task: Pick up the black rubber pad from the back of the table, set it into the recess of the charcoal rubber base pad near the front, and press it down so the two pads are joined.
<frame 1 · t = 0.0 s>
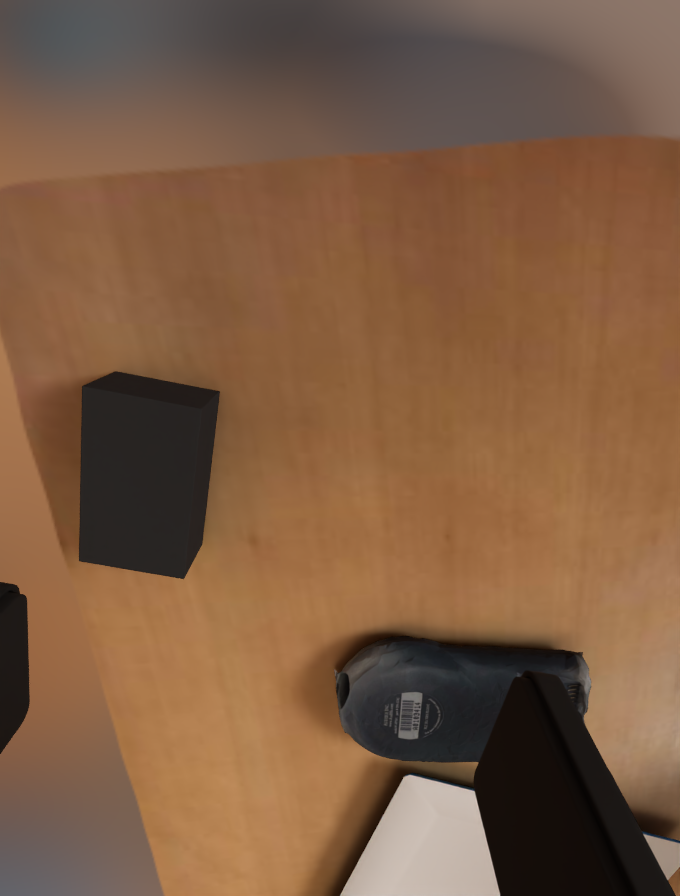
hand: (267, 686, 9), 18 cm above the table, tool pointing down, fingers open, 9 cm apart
pad: (161, 463, 27), on the table
electronic device: (449, 680, 33), on the table
plate: (481, 875, 40), on the table
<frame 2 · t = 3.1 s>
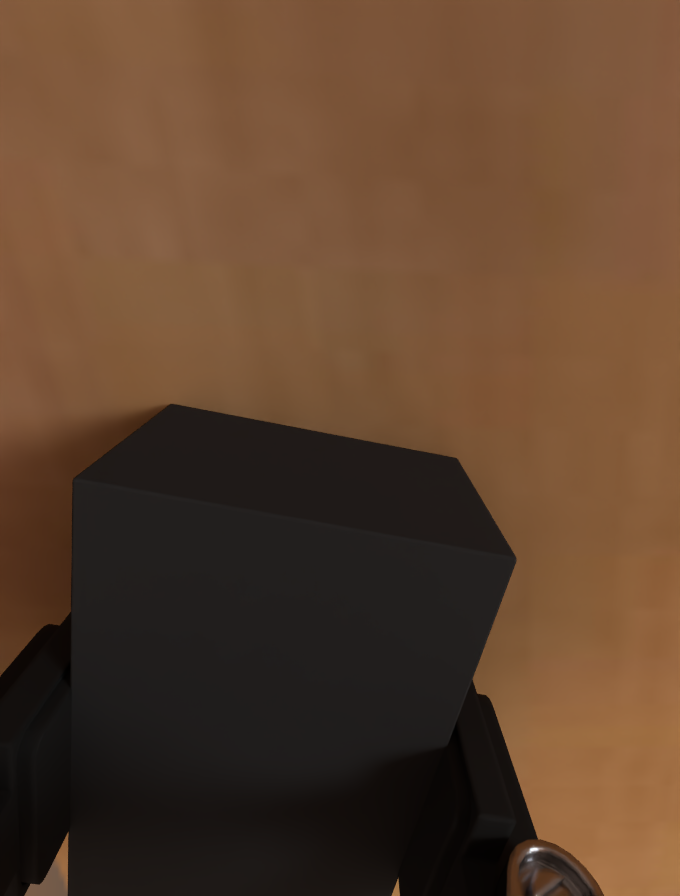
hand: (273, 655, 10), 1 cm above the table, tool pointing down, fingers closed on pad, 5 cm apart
pad: (278, 631, 11), on the table, touching gripper
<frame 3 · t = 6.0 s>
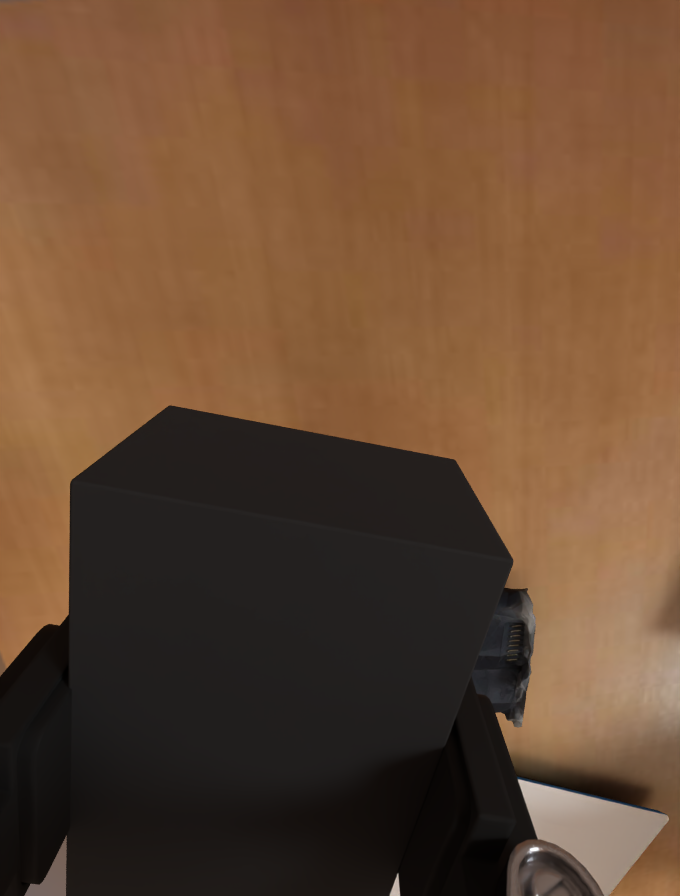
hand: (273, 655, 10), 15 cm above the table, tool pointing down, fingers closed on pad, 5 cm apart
pad: (276, 632, 11), point 15 cm above the table, touching gripper
electronic device: (384, 629, 29), on the table
plate: (438, 854, 36), on the table
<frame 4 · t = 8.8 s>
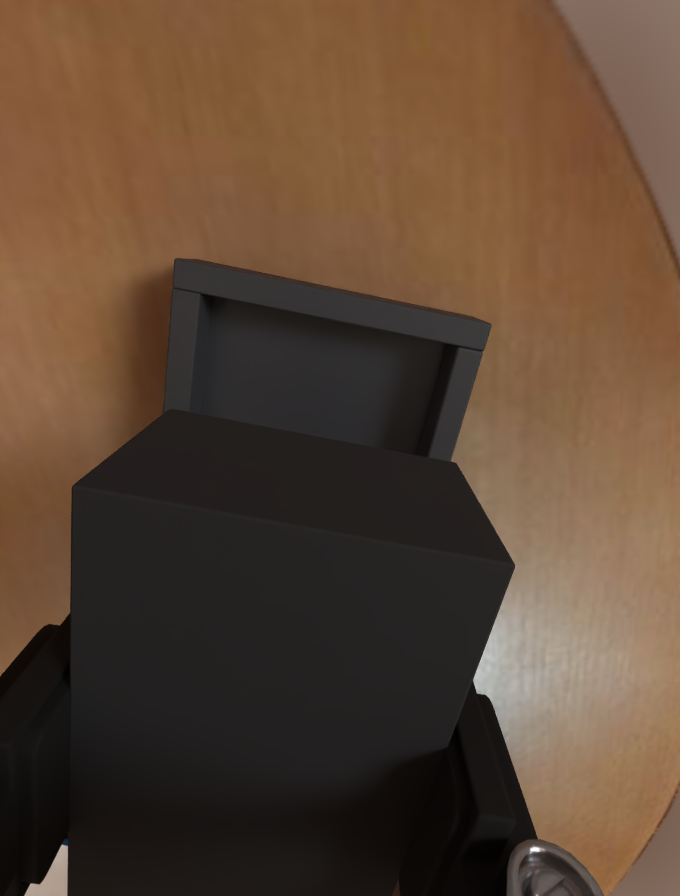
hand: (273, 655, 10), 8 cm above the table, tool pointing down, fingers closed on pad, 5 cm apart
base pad: (301, 478, 18), on the table
pad: (277, 635, 11), point 8 cm above the table, touching gripper
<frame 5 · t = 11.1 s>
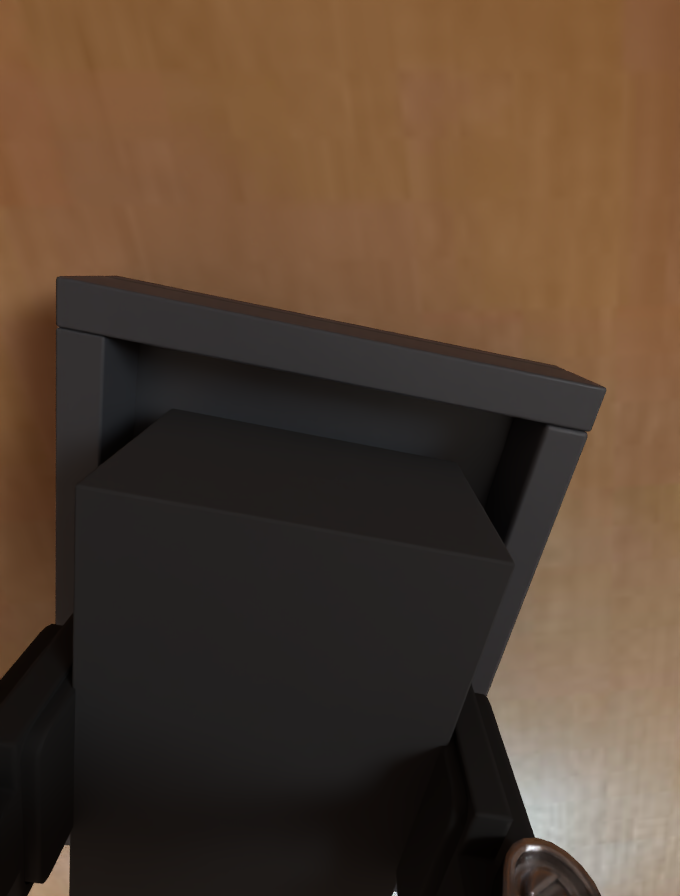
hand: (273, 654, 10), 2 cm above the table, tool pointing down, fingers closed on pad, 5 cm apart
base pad: (287, 598, 12), on the table
pad: (278, 634, 11), point 1 cm above the table, touching gripper
when the fingers open (2 cm above the table, at t = 14.4 s): pad stays where it is, resting on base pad.
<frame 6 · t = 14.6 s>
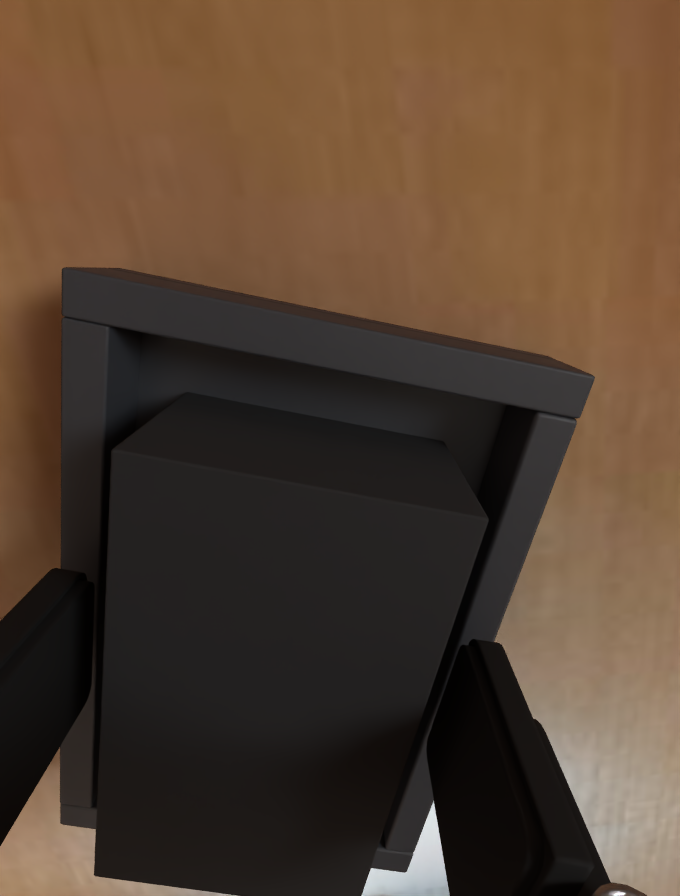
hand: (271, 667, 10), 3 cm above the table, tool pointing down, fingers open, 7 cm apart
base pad: (286, 585, 12), on the table
pad: (282, 601, 12), point 1 cm above the table, touching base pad
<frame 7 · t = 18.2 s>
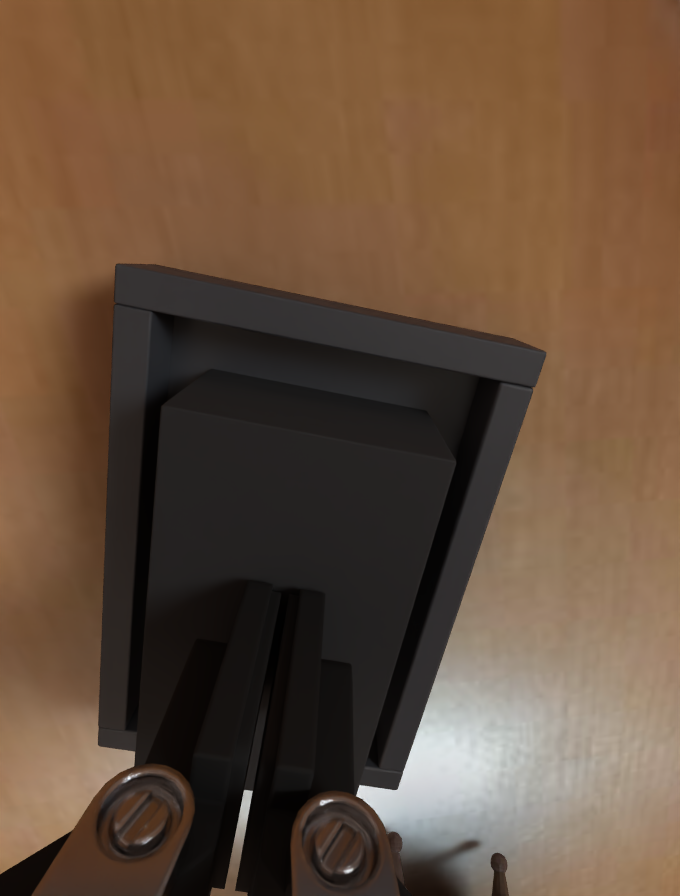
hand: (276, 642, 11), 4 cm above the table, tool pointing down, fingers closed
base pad: (293, 539, 14), on the table
pad: (290, 551, 14), point 1 cm above the table, touching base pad, gripper
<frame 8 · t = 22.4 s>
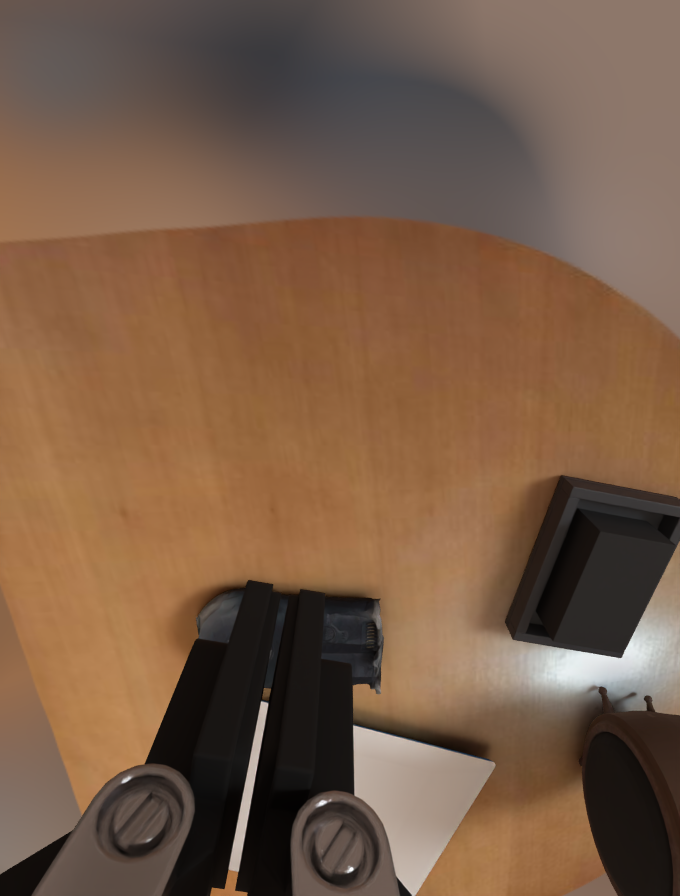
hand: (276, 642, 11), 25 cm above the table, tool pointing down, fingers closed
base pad: (586, 562, 39), on the table
pad: (589, 567, 38), point 1 cm above the table, touching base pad
electronic device: (290, 625, 41), on the table
plate: (339, 793, 48), on the table
alarm clock: (604, 724, 45), on the table
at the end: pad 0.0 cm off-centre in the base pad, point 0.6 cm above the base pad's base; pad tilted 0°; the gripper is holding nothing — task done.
